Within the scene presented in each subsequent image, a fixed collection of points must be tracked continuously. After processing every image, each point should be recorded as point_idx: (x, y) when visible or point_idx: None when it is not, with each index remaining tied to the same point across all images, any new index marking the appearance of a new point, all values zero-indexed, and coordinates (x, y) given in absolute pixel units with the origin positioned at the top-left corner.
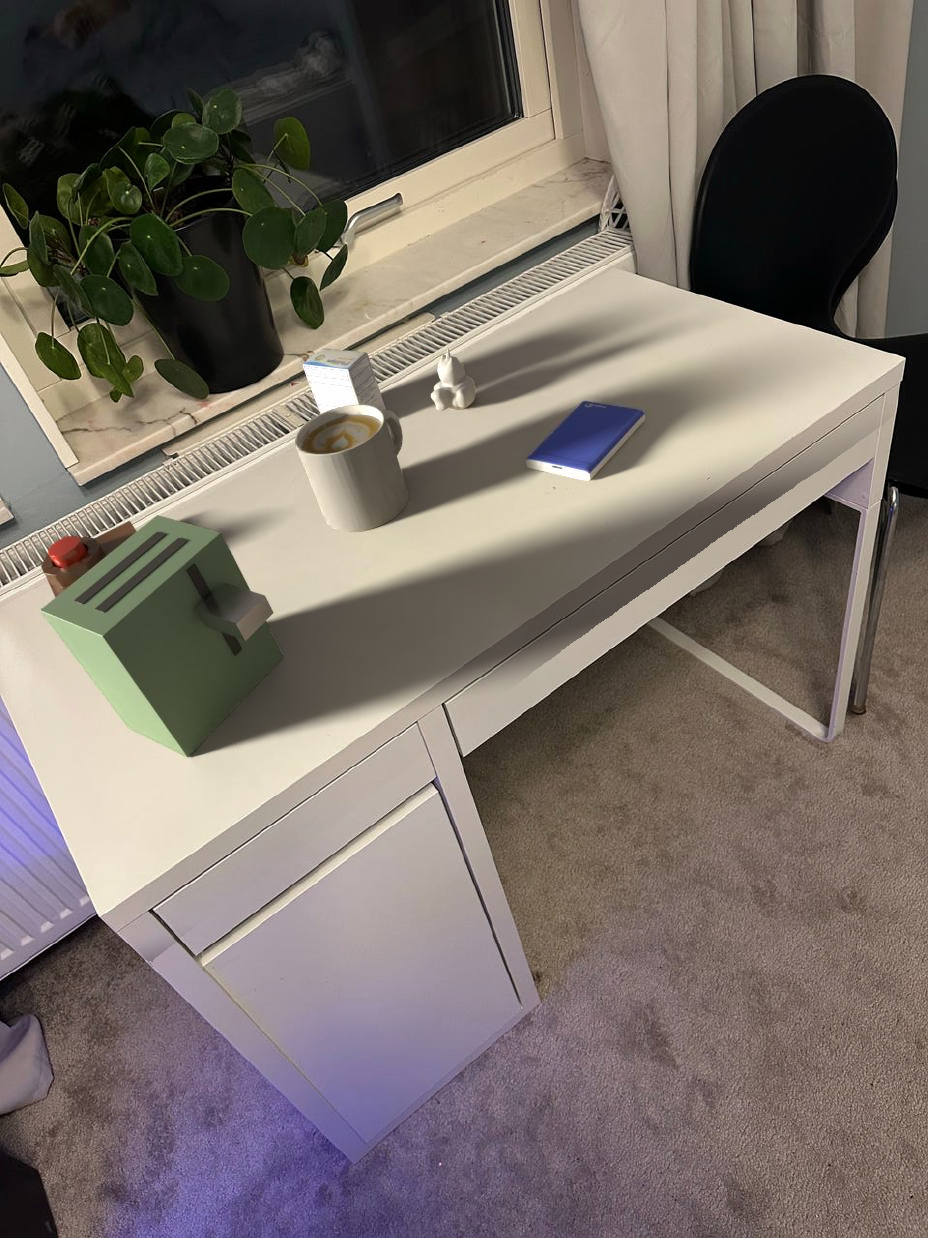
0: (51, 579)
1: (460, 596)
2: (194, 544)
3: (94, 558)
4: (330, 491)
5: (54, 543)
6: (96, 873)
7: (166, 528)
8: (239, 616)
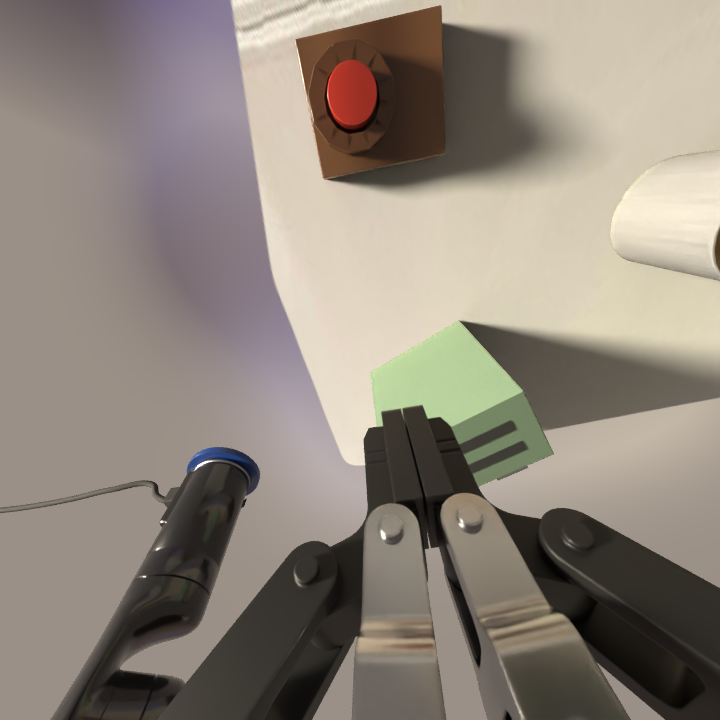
0: (320, 133)
1: (604, 381)
2: (527, 455)
3: (383, 135)
4: (659, 256)
5: (337, 69)
6: (342, 452)
7: (519, 420)
8: (503, 476)
